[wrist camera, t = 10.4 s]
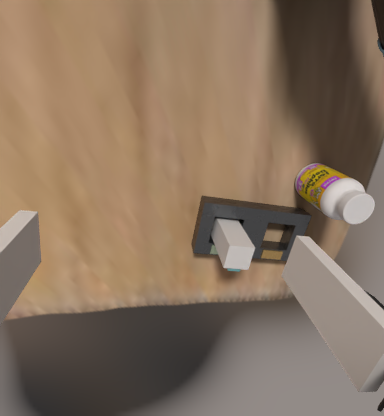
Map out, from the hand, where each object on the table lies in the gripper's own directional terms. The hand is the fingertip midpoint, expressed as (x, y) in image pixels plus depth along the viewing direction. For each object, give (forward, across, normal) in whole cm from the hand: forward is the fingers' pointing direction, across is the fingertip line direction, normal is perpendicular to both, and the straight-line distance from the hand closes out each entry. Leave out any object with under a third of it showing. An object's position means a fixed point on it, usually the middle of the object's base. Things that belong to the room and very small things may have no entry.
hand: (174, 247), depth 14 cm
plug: (+32, +13, -14) cm, 37 cm away
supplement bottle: (+32, +28, -4) cm, 42 cm away
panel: (+32, +18, -14) cm, 39 cm away
